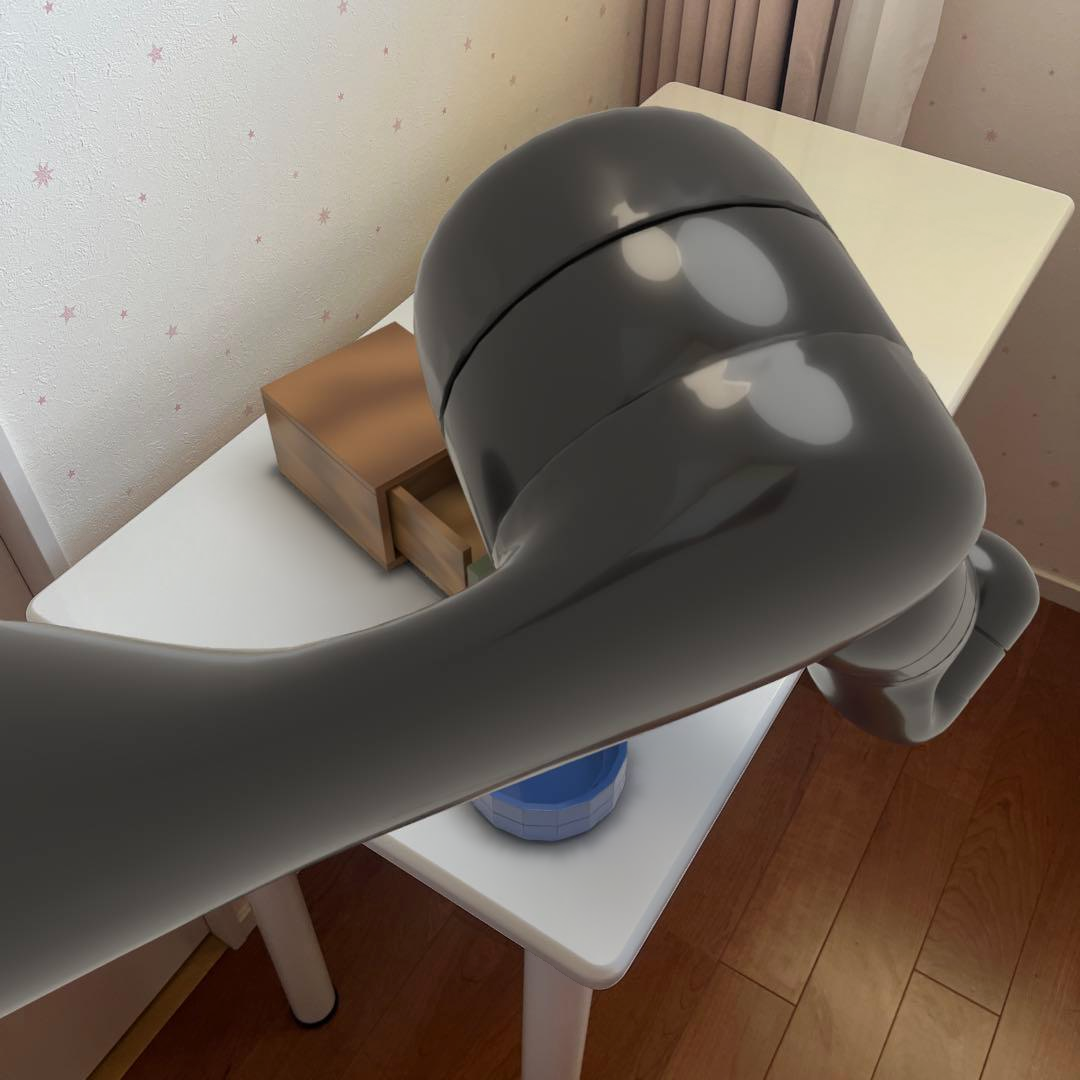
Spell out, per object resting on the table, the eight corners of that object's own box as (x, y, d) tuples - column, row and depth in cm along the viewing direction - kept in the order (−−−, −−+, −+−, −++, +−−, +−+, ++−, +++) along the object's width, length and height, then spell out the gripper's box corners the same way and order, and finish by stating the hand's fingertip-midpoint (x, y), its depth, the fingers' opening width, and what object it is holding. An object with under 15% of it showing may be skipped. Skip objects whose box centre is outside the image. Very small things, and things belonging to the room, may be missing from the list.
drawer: (640, 589, 79) (646, 523, 74) (520, 676, 74) (518, 611, 69) (483, 466, 88) (480, 399, 83) (366, 535, 82) (355, 469, 78)
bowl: (538, 876, 65) (538, 843, 62) (433, 766, 70) (428, 731, 67) (657, 777, 69) (662, 742, 66) (550, 680, 74) (550, 644, 72)
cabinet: (517, 492, 87) (514, 408, 81) (387, 572, 81) (375, 488, 75) (404, 403, 94) (395, 320, 88) (279, 471, 89) (259, 387, 82)
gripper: (756, 336, 59) (544, 213, 68) (559, 457, 53) (352, 305, 61) (739, 441, 64) (544, 315, 73) (558, 563, 58) (368, 409, 67)
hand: (458, 311), depth 67 cm, fingers closed on pepper mill, 5 cm apart
